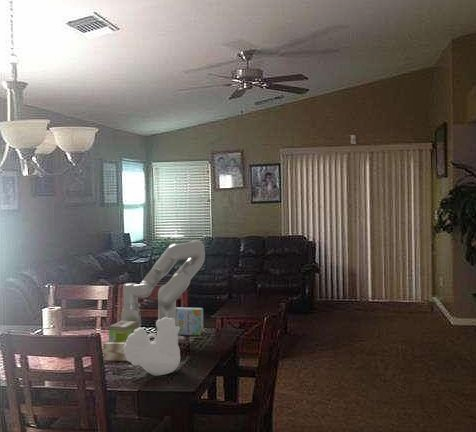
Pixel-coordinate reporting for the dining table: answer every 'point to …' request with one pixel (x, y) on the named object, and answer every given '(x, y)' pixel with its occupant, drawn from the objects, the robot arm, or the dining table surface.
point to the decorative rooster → (155, 348)
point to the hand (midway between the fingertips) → (130, 340)
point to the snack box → (189, 320)
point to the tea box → (121, 330)
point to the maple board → (114, 351)
